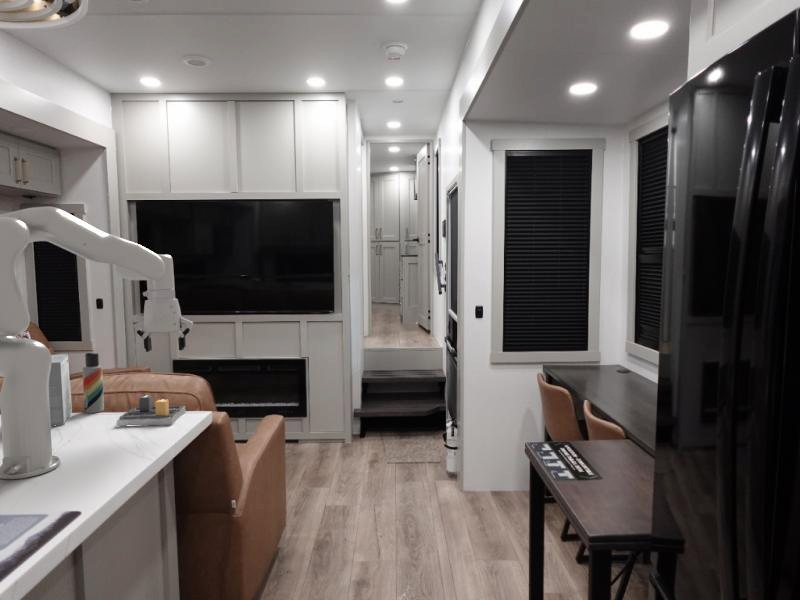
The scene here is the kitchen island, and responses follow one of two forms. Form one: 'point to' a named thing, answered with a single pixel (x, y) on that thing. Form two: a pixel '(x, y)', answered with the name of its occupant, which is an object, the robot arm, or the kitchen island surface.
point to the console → (150, 416)
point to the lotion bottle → (93, 384)
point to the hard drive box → (59, 390)
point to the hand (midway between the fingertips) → (165, 350)
